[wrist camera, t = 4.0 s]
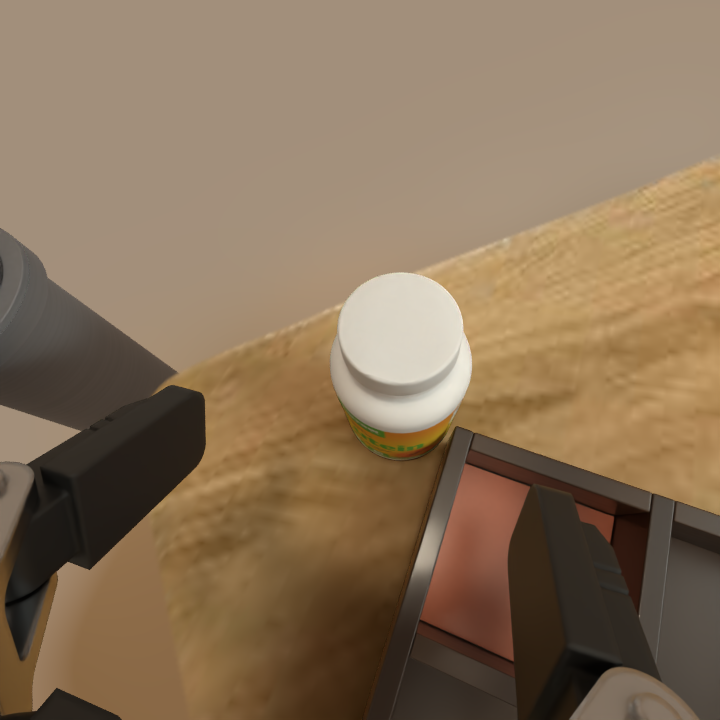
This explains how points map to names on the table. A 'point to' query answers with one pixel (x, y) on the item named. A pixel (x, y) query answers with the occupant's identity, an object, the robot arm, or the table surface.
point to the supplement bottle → (400, 364)
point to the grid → (491, 586)
